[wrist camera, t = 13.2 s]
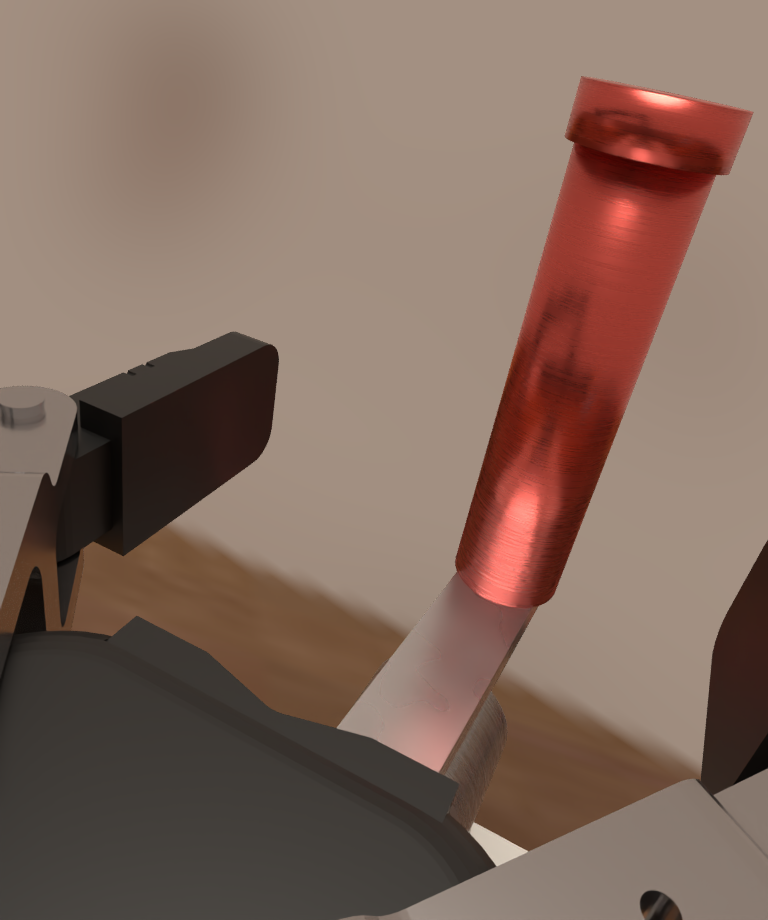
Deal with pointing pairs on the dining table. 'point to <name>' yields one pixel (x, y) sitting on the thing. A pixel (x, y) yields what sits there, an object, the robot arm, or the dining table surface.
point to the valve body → (474, 759)
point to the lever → (558, 399)
